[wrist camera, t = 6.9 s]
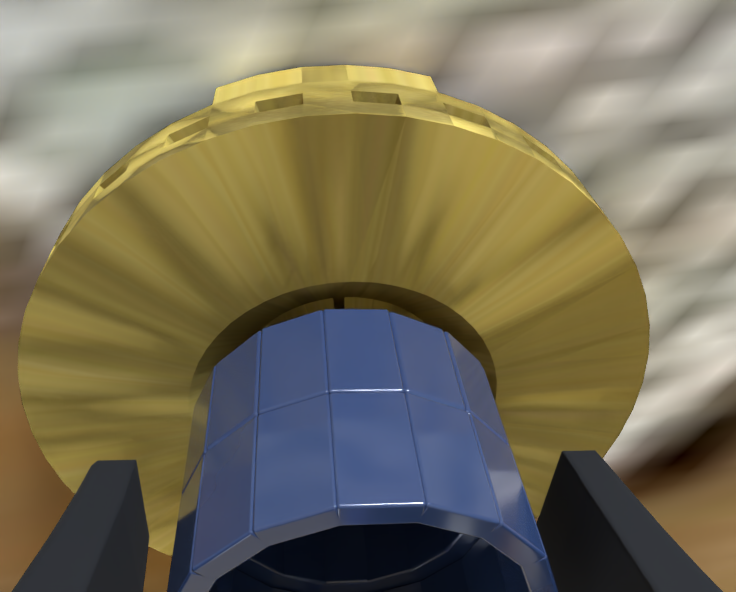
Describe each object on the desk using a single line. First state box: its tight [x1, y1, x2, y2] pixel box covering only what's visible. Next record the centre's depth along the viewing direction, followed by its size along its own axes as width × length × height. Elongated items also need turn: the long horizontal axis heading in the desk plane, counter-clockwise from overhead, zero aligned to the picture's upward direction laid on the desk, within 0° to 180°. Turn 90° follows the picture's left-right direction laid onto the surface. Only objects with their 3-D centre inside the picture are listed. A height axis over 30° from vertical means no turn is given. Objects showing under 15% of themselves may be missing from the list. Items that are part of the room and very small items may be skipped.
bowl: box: [167, 308, 558, 592], centre depth 12 cm, size 6×6×4 cm
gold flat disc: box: [18, 65, 650, 556], centre depth 15 cm, size 12×12×2 cm
